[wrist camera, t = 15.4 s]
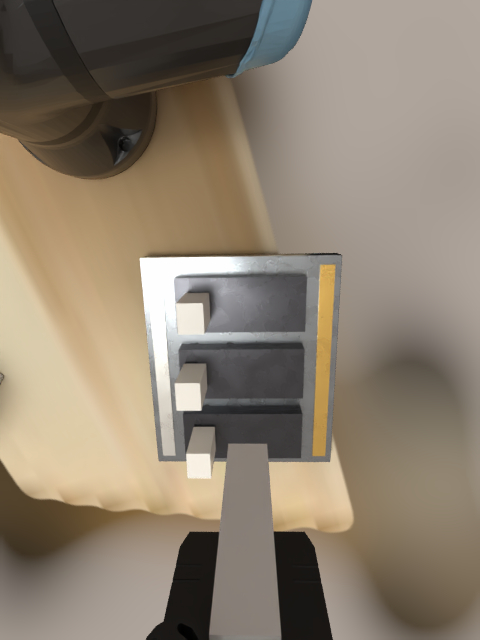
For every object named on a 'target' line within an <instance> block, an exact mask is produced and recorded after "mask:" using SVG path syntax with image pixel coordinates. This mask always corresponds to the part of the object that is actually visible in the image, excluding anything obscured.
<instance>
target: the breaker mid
mask: <svg viewBox="0 0 480 640" xmlns="http://www.w3.org/2000/svg"><path fill="white" fill-rule="evenodd" d="M206 391H207V370H206V363H204V364H183V367H182V369H181V371H180V373H179V375H178V377H177V379H176V381H175V396H176V410H177V411H201V410H202V406H203V403H204V399H205V395H206Z"/></svg>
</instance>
